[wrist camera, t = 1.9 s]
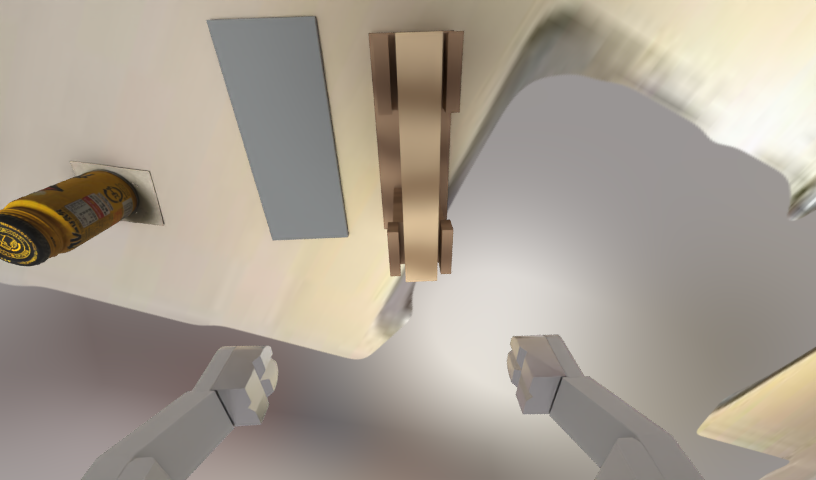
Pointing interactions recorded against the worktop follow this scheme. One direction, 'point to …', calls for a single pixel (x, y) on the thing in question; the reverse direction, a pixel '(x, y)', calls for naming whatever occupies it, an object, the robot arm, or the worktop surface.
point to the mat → (284, 121)
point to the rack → (390, 140)
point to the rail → (420, 147)
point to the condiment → (75, 212)
